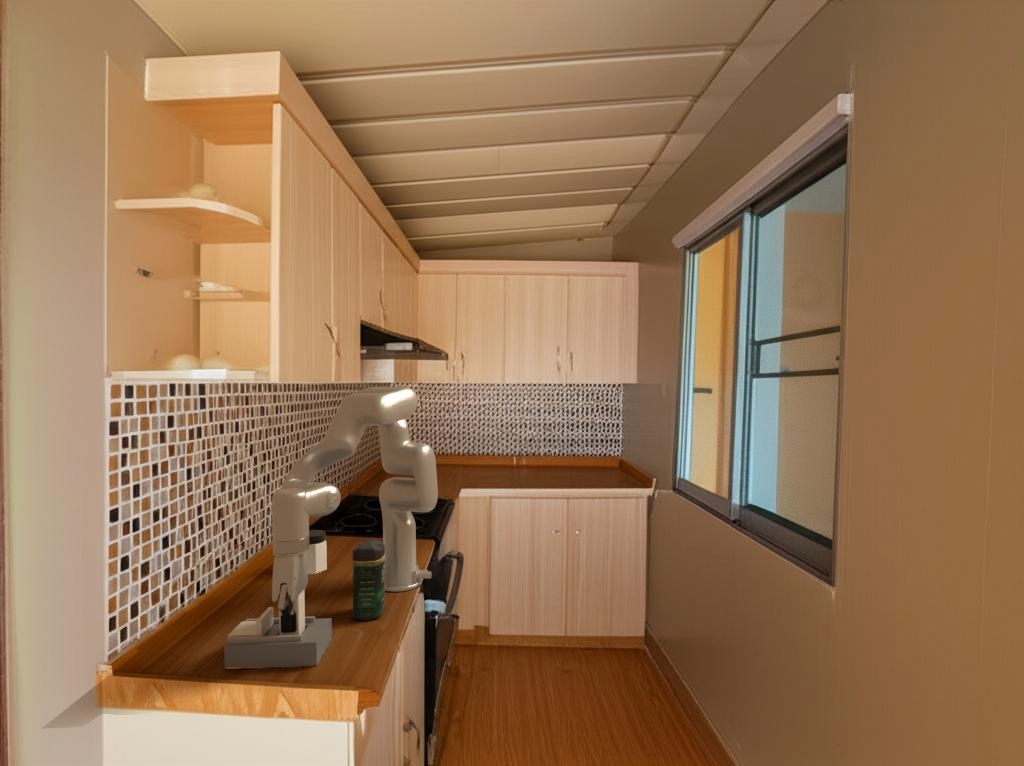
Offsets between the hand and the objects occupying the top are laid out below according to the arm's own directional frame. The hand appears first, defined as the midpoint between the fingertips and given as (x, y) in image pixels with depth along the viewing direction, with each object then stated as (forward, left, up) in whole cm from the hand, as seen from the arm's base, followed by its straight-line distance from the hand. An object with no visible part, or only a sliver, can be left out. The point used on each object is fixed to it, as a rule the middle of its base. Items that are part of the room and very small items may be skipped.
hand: (292, 626), depth 122 cm
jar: (+12, -55, -6) cm, 57 cm away
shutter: (+9, 0, -1) cm, 9 cm away
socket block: (+3, 0, -6) cm, 6 cm away
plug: (0, 0, -4) cm, 4 cm away
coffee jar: (-13, -20, -6) cm, 25 cm away
